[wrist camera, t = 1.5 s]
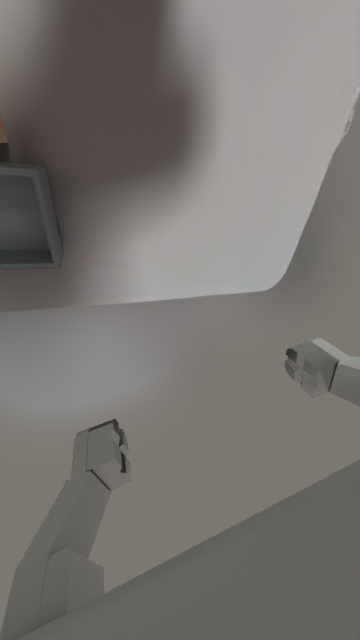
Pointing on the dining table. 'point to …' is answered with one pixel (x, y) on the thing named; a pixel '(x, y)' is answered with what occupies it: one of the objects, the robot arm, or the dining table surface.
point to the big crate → (27, 218)
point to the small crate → (2, 133)
